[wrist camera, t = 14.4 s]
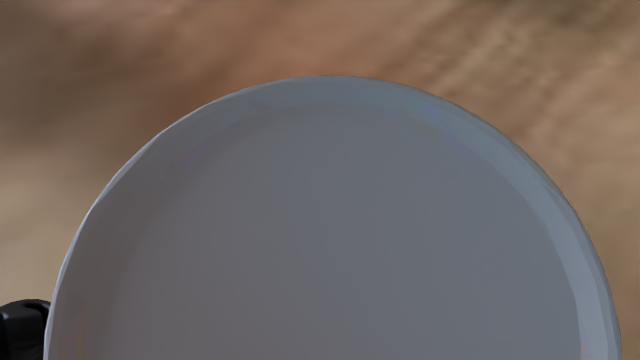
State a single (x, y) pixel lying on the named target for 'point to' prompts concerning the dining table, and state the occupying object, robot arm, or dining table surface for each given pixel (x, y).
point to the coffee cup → (331, 239)
